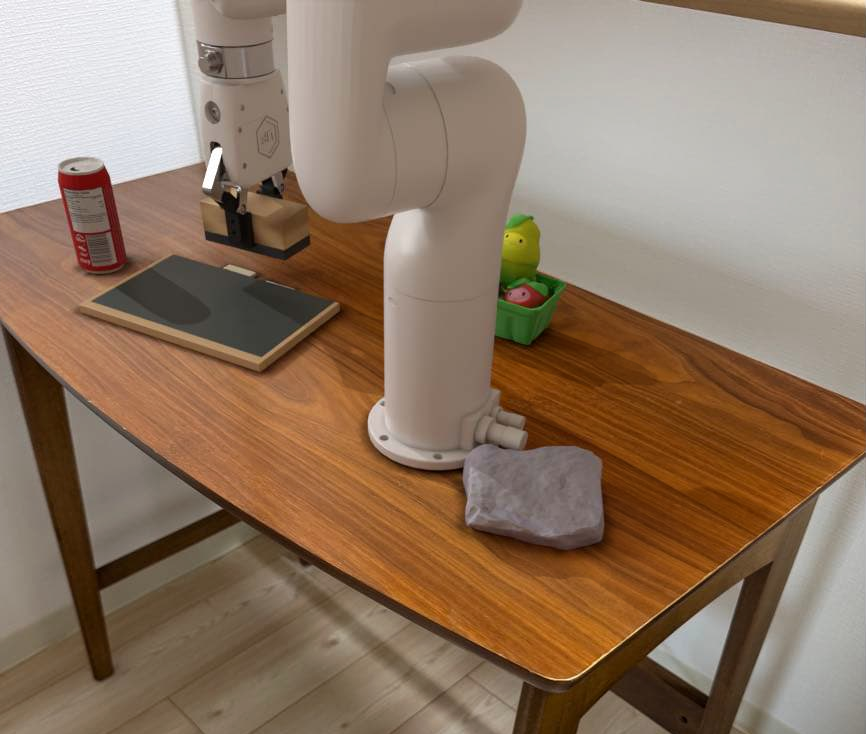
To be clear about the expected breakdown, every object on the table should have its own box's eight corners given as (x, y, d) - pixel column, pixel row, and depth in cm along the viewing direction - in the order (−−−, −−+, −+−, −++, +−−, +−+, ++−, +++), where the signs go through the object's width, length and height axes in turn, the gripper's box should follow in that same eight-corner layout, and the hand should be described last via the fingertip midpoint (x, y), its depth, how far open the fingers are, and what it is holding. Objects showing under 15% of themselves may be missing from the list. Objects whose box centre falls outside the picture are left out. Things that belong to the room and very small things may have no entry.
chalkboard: (340, 310, 101) (339, 302, 100) (260, 372, 91) (259, 364, 90) (171, 260, 109) (169, 252, 108) (80, 312, 99) (78, 304, 98)
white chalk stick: (294, 291, 104) (294, 288, 104) (288, 296, 103) (288, 292, 103) (266, 283, 106) (266, 280, 105) (260, 287, 105) (260, 284, 104)
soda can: (112, 250, 110) (90, 149, 102) (136, 265, 107) (115, 163, 99) (70, 263, 107) (44, 160, 99) (94, 279, 104) (69, 175, 96)
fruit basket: (439, 325, 99) (443, 225, 92) (478, 294, 105) (484, 197, 97) (532, 355, 95) (545, 253, 87) (567, 321, 101) (581, 222, 93)
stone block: (606, 566, 74) (596, 473, 80) (614, 531, 70) (604, 436, 76) (461, 564, 74) (462, 471, 80) (461, 528, 70) (463, 434, 76)
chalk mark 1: (250, 276, 106) (250, 279, 106) (256, 272, 106) (256, 275, 107) (223, 267, 107) (223, 271, 107) (229, 264, 108) (229, 267, 108)
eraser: (310, 244, 102) (307, 205, 99) (285, 261, 99) (281, 220, 96) (232, 225, 106) (227, 186, 103) (205, 240, 102) (199, 200, 99)
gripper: (213, 84, 83) (238, 272, 95) (316, 46, 94) (327, 217, 106) (150, 73, 85) (182, 257, 97) (257, 36, 97) (274, 205, 109)
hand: (257, 234), depth 102 cm, fingers closed on eraser, 5 cm apart
